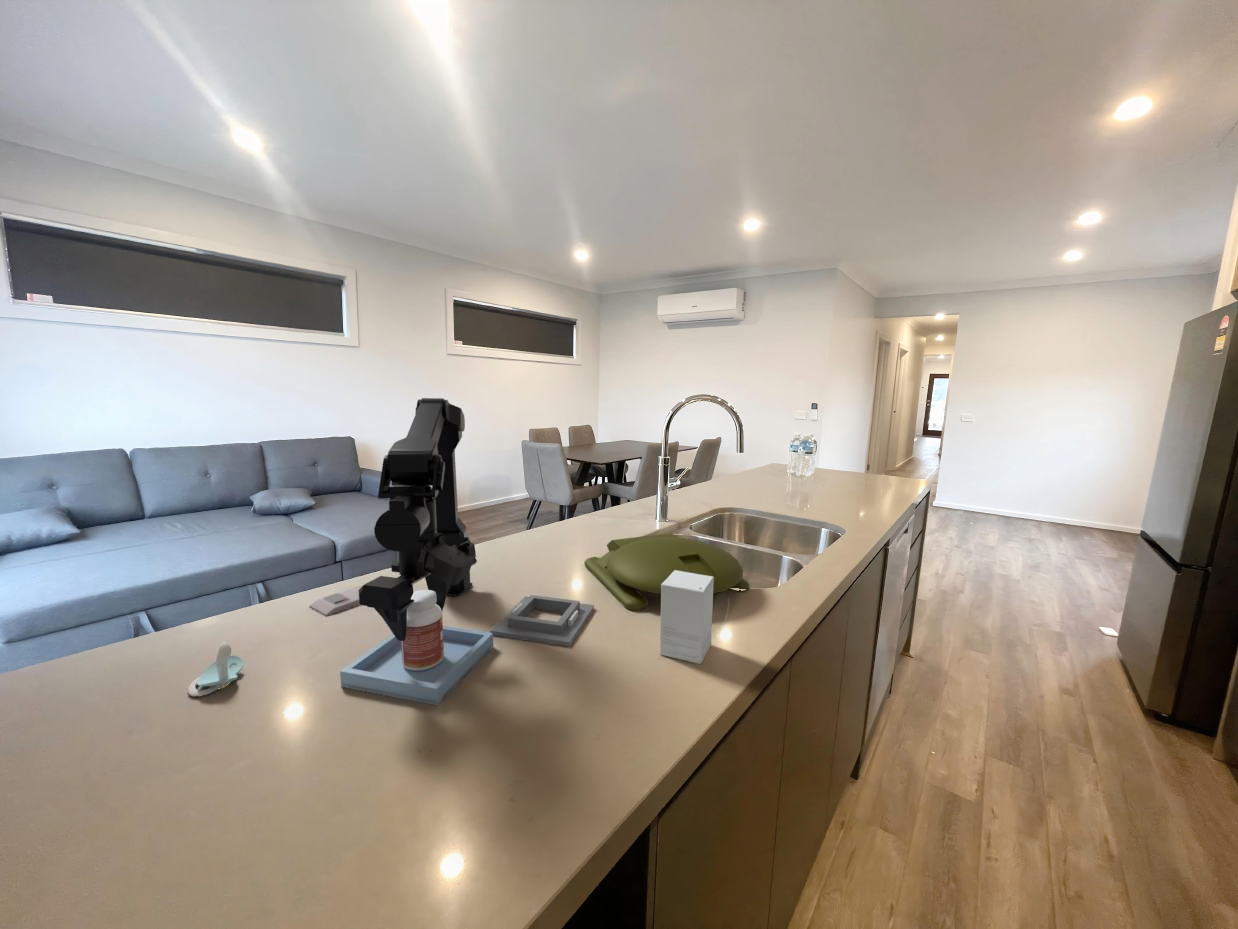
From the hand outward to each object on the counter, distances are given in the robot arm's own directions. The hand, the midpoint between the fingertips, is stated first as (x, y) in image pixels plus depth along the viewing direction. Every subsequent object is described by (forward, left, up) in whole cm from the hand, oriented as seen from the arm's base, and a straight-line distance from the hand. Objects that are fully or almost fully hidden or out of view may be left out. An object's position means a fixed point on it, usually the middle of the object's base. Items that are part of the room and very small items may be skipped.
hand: (421, 625), depth 76 cm
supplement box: (+40, +16, -7) cm, 44 cm away
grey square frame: (+13, +19, -7) cm, 24 cm away
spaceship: (+33, +45, -7) cm, 56 cm away
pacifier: (-26, -12, -7) cm, 30 cm away
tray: (0, 0, -7) cm, 7 cm away
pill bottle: (0, 0, -6) cm, 6 cm away
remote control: (-29, +16, -8) cm, 34 cm away
